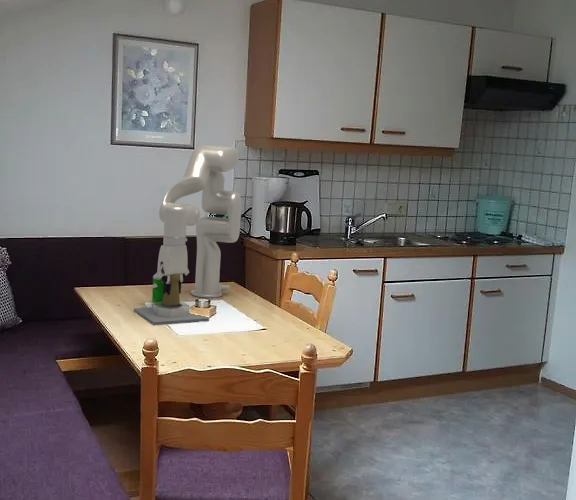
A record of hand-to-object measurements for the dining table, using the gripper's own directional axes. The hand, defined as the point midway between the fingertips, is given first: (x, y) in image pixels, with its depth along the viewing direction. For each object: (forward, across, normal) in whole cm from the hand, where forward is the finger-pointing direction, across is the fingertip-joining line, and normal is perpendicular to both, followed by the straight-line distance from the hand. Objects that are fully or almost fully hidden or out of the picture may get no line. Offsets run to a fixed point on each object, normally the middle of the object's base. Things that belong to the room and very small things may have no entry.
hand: (171, 293), depth 247 cm
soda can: (+8, -8, -14) cm, 18 cm away
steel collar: (+8, 0, 0) cm, 8 cm away
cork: (+4, 0, 0) cm, 4 cm away
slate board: (+8, 0, 0) cm, 8 cm away
